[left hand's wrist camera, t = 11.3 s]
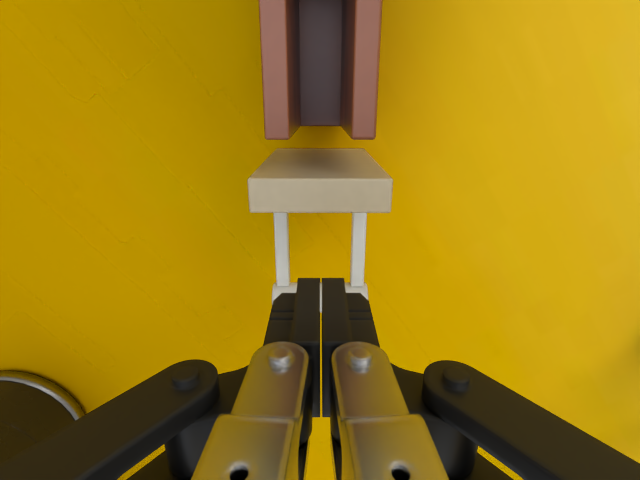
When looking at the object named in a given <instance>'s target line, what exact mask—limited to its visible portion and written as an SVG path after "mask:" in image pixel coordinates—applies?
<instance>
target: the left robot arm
mask: <svg viewBox="0 0 640 480" xmlns="http://www.w3.org/2000/svg"><path fill="white" fill-rule="evenodd" d="M312 417H320V278H298V282H297V291H296V293H281V294H280V295H279V296H278V297H277V298H276V299H275V300H274V301H273V305H272V309H271V313H270V318H269V322H268V326H267V331H266V335H265V340H264V344H263V346H262V347H261V348H259V349H258V350H257V351H256V352H255V353H254V354H253V356H252V358H251V361H250V364H249V365H248V366H246V367H244V368H241V369H239V370H235V371H231V372H227V373H222V374H218V372H217V369H216V368H215V366H214V365H213V364H211V363H209V362H207V361H204V360H186V361H182V362H178V363H176V364H173V365H171V366H169V367H168V368H166V369H164V370H162V371H161V372H159V373H157V374H155V375H154V376H152V377H150V378H148V379H147V380H145V381H143V382H142V383H140V384H138V385H136V386H135V387H133V388H131V389H129V390H128V391H126V392H124V393H122V394H121V395H119V396H117V397H115V398H114V399H112V400H110V401H108V402H107V403H105V404H103V405H102V406H100V407H98V408H96V409H95V410H93V411H91V412H89V413H88V414H86V415H85V414H84V412H83V410H82V409H81V407H80V406H79V404H78V403H77V402H76V401H75V399H74V398H73V397H72V396H71V395H70V394H68V393H67V392H66V391H65V390H63V389H62V388H61V387H59V386H58V385H56V384H54V383H52V382H50V381H49V380H46V379H44V378H42V377H39V376H36V375H33V374H29V373H24V372H17V371H0V480H117V479H118V478H119V477H120V476H121V475H122V474H124V473H125V472H126V471H128V470H129V469H130V468H132V467H133V466H134V465H136V464H137V463H139V462H140V461H141V460H143V459H144V458H145V457H147V456H148V455H149V454H151V453H152V452H154V451H155V450H156V449H158V448H159V447H160V446H162V445H163V444H165V451H164V452H163V453H161V454H160V455H159V456H157V457H156V458H155V459H153V460H152V461H151V462H149V463H148V464H147V465H145V466H144V467H143V468H141V469H140V470H139V471H137V472H136V473H135V474H133V475H132V476H131V477H129V478H128V479H127V480H306V471H307V463H308V454H309V445H310V439H309V437H310V435H311V432H312ZM322 417H330V424H331V439H330V445H331V454H332V463H333V471H334V480H513V479H512V478H511V477H509V476H508V475H507V474H505V473H504V472H503V471H501V470H500V469H499V468H497V467H496V466H495V465H493V464H492V463H491V462H489V461H488V460H487V459H485V458H484V457H483V456H481V455H480V454H479V453H477V449H478V446H480V447H481V448H482V449H484V450H485V451H486V452H488V453H489V454H491V455H492V456H493V457H495V458H496V459H497V460H499V461H500V462H502V463H503V464H504V465H506V466H507V467H508V468H510V469H511V470H512V471H514V472H515V473H517V474H518V475H519V476H520V477H522V478H523V479H524V480H640V464H639V463H638V462H636V461H634V460H632V459H631V458H629V457H627V456H625V455H624V454H622V453H620V452H619V451H617V450H615V449H613V448H612V447H610V446H608V445H606V444H605V443H603V442H601V441H599V440H598V439H596V438H594V437H592V436H591V435H589V434H587V433H585V432H584V431H582V430H580V429H579V428H577V427H575V426H573V425H572V424H570V423H568V422H566V421H565V420H563V419H561V418H559V417H558V416H556V415H554V414H552V413H551V412H549V411H547V410H545V409H544V408H542V407H540V406H539V405H537V404H535V403H533V402H532V401H530V400H528V399H526V398H525V397H523V396H521V395H519V394H518V393H516V392H514V391H512V390H511V389H509V388H507V387H505V386H504V385H502V384H500V383H498V382H497V381H495V380H493V379H492V378H490V377H488V376H486V375H485V374H483V373H481V372H479V371H478V370H476V369H474V368H472V367H470V366H468V365H466V364H463V363H460V362H456V361H449V360H443V361H437V362H434V363H432V364H430V365H429V366H427V367H426V369H425V371H424V374H421V373H417V372H412V371H408V370H405V369H402V368H399V367H397V366H395V365H393V364H392V363H390V361H389V358H388V356H387V354H386V353H385V352H384V351H383V350H382V349H381V348H380V346H379V342H378V338H377V334H376V330H375V325H374V321H373V317H372V313H371V309H370V304H369V301H368V300H367V299H366V298H365V297H364V296H363V295H362V294H361V293H346V290H345V283H344V278H322Z"/></svg>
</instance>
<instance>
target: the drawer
mask: <svg viewBox="0 0 640 480" xmlns="http://www.w3.org/2000/svg"><path fill="white" fill-rule="evenodd" d="M259 18H260V40H261V61H262V83H263V105H264V126H265V139H280V140H288V139H289V138H290V137H291V136H292V135H293V134H294V133H295V132H296V130H297V129H298V128H299V127H300V126H341V127H342V128H343V129H344V130H345V131H346V133H347V134H348V135H349V136H350V137H351V138H352V139H354V140H373V139H375V137H376V118H377V98H378V78H379V58H380V38H381V18H382V0H259ZM392 188H393V179H392V178H391V177H390V176H389V175H388V174H387V173H386V172H385V171H384V169H383V168H382V167H381V166H380V165H379V164H378V163H377V162H376V161H375V160H374V159H373V158H372V157H371V156H370V155H369V154H368V153H367V152H366V150H365V149H363V148H277V149H276V150H275V151H274V152H273V153H272V154H271V155H270V156H269V157H268V158H267V159H266V160H265V161H264V163H263V164H262V165H261V166H260V167H259V168H258V169H257V170H256V171H255V172H254V173H253V174H252V175H251V176H250V177H249V178H248V196H249V210H250V212H252V213H274V234H275V258H276V282H277V283H274V285H273V289H272V305H273V301H274V300H275V299H276V298H277V297H278V296H279V295H280V294H281V293H296V291H297V283H290V261H289V225H288V213H352V236H351V268H350V283H345V290H346V293H361V294H362V295H363V296H364V297H365V298H366V299H367V300H368V288H367V285H366V283H364V264H365V242H366V220H367V213H389V212H390V211H391V203H392ZM320 312H322V283H320Z"/></svg>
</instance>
